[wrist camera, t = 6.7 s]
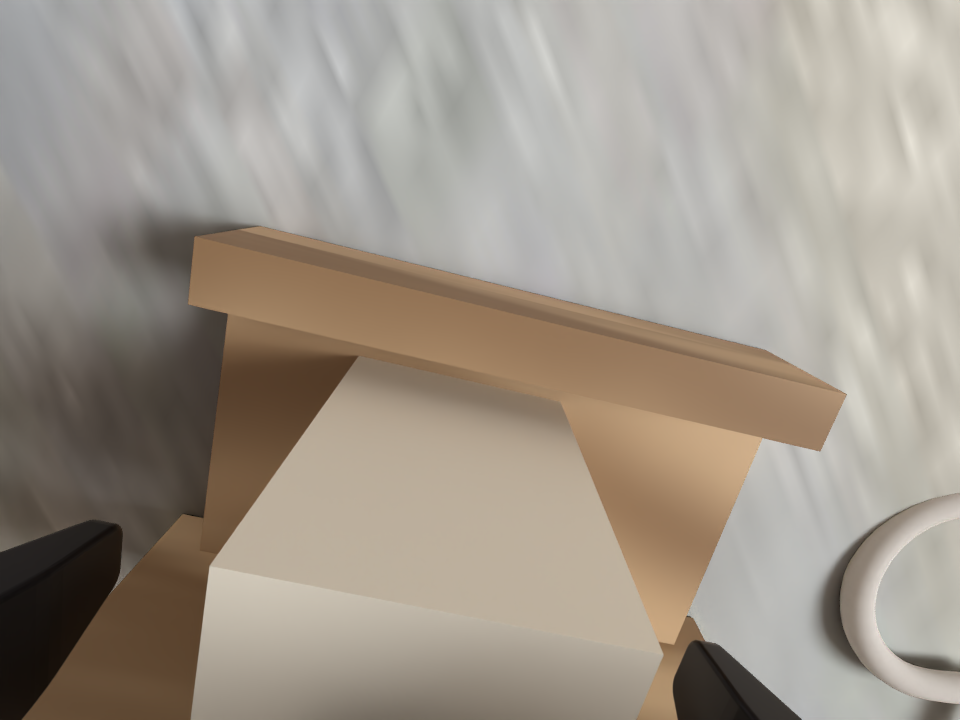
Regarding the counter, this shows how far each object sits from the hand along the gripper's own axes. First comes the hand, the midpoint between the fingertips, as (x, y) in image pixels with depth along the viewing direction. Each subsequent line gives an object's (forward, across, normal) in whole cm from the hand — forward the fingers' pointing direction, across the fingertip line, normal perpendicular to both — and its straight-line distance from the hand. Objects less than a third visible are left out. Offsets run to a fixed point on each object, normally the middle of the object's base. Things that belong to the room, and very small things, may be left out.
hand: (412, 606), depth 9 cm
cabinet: (+4, 0, 0) cm, 4 cm away
